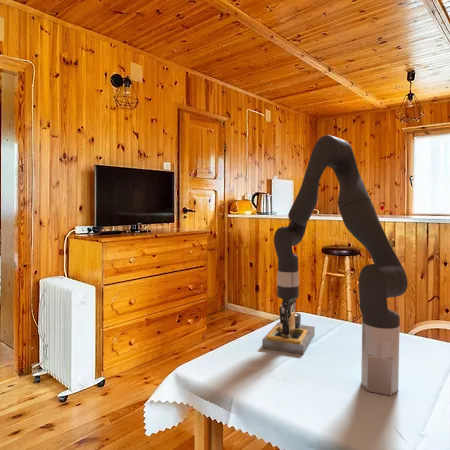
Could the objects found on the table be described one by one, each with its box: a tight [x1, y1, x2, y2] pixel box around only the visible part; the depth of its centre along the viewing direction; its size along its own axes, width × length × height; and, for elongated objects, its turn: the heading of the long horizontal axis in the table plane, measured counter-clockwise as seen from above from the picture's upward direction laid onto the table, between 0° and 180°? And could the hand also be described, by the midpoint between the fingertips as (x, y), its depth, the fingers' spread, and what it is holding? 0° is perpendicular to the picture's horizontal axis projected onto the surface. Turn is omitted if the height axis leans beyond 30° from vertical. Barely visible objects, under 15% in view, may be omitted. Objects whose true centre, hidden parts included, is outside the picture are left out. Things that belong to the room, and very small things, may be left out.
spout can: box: [280, 310, 296, 339], centre depth 128 cm, size 5×5×12 cm
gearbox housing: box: [261, 312, 316, 355], centre depth 131 cm, size 20×14×8 cm
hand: (287, 331), depth 128 cm, fingers closed on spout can, 5 cm apart
